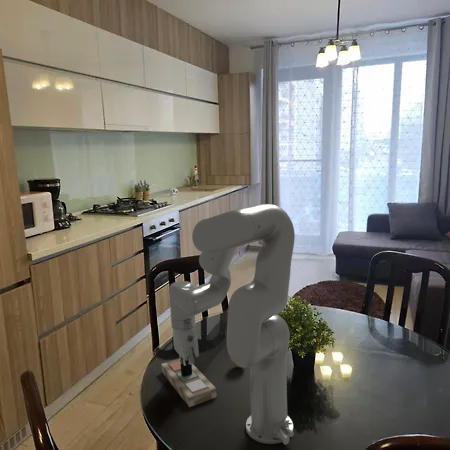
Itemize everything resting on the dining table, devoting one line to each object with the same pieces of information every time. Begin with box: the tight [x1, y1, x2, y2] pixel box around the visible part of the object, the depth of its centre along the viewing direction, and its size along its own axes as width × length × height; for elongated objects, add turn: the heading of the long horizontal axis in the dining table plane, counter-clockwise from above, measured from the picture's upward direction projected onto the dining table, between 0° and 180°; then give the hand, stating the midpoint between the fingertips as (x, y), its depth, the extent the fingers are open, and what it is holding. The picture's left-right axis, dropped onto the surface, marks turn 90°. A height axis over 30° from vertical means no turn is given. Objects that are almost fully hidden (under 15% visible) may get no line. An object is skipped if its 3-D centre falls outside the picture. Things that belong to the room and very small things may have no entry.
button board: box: [160, 358, 217, 408], centre depth 132 cm, size 23×9×3 cm, turn 29°
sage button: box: [177, 371, 197, 382], centre depth 132 cm, size 5×5×3 cm
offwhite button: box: [186, 379, 207, 393], centre depth 126 cm, size 5×5×3 cm
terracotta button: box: [169, 361, 181, 372], centre depth 138 cm, size 5×5×3 cm
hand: (186, 374), depth 132 cm, fingers closed
